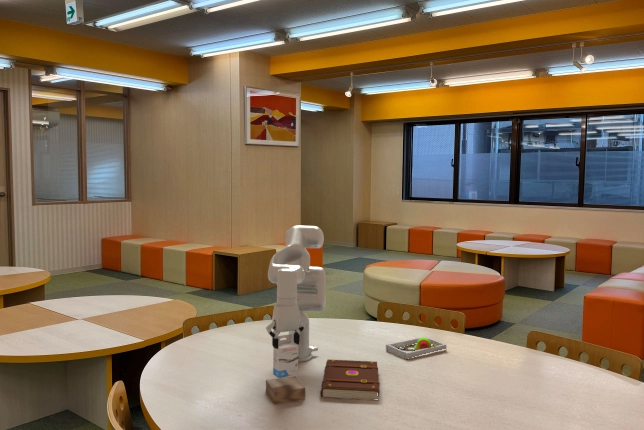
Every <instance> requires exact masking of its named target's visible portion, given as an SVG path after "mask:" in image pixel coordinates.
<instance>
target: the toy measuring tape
mask: <svg viewBox="0 0 644 430" xmlns="http://www.w3.org/2000/svg"><path fill="white" fill-rule="evenodd" d="M420 337H421V338H420ZM420 337H418V338H419V339H418V341H417V344H416V345H413V347H409V348H410V349H409V350H411V349H414V350H420V349H425V348H429V347H436V345H435V343H433V345H432V346H431V342H430V340H429V339H428V338H429V337H428V338H426V337H427V336H420ZM396 348H399V346H396ZM404 348H405V347H403V348H399V349H400V350H405V349H404ZM414 350H413V351H414Z"/></svg>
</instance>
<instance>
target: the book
mask: <svg viewBox="0 0 644 430" xmlns="http://www.w3.org/2000/svg"><path fill="white" fill-rule="evenodd" d="M322 379H323V380H322V382H321V388H320V396H321V398H323V399H324V398H325V399H326V398H327V399H342V398H353V399H352V400H361V399H378V396H379V395H378V396H377V393H378V394H379V393H380V387H381V385H380V381H379V367H378V361H371V360H369V361H368V360H352V359H351V360H346V359H327V360H326V362H325V366H324V371H323V378H322Z"/></svg>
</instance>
